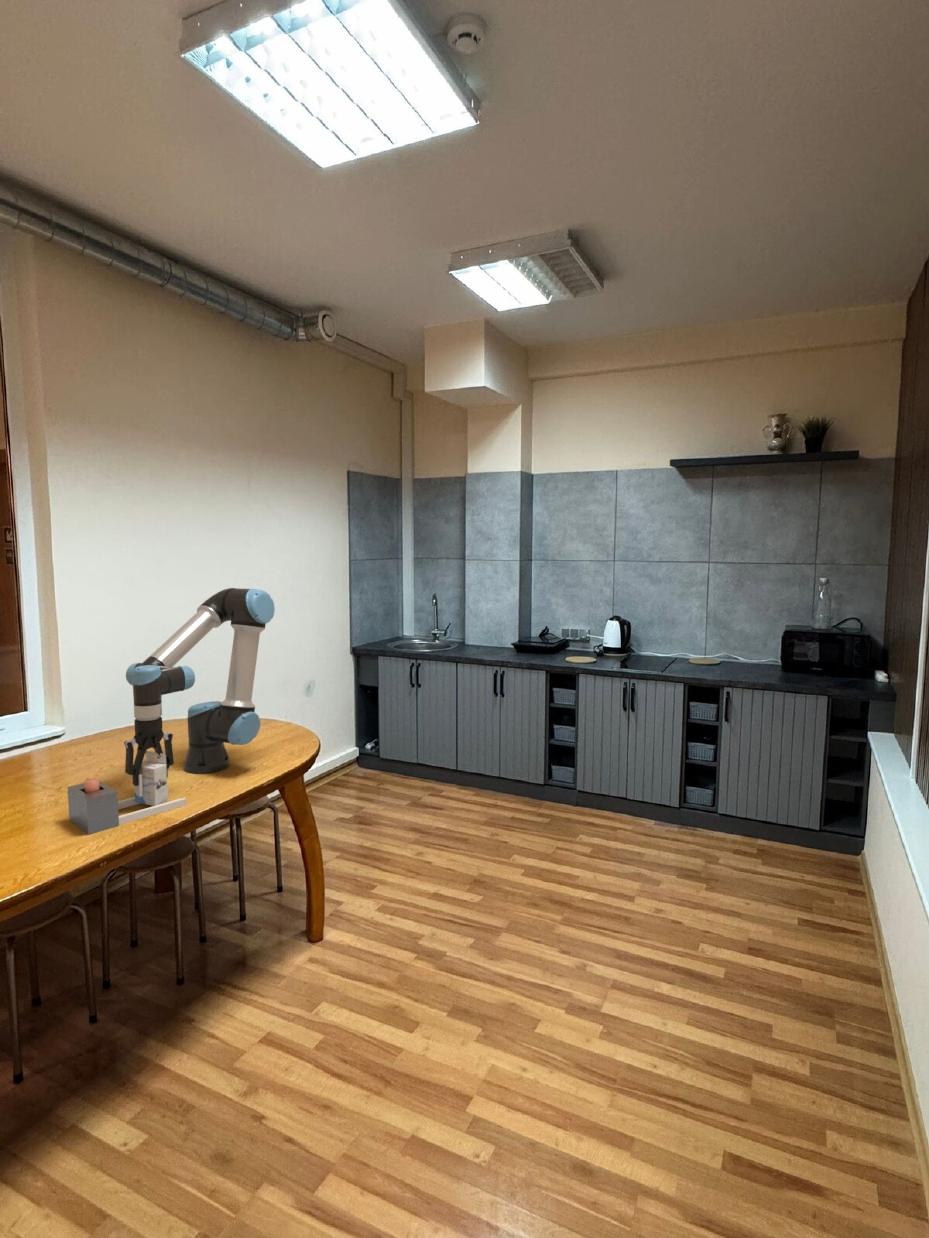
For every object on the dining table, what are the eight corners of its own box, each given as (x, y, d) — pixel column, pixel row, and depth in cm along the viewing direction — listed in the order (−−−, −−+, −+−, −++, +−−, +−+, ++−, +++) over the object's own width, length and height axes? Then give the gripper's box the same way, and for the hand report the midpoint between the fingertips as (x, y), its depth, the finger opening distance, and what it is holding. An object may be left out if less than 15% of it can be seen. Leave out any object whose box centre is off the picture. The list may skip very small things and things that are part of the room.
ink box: (133, 802, 201) (132, 754, 200) (147, 796, 206) (145, 750, 204) (155, 806, 198) (153, 758, 196) (168, 801, 202) (167, 753, 201)
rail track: (166, 794, 212) (166, 788, 212) (186, 804, 204) (186, 798, 203) (99, 812, 197) (99, 806, 197) (118, 825, 189) (117, 818, 188)
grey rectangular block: (99, 812, 197) (97, 779, 196) (118, 825, 188) (117, 791, 187) (69, 820, 191) (67, 786, 190) (88, 834, 182) (86, 799, 181)
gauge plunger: (96, 794, 191) (96, 777, 191) (102, 797, 189) (101, 780, 189) (83, 797, 189) (82, 780, 188) (88, 801, 186) (87, 783, 186)
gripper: (173, 709, 209) (175, 781, 211) (109, 721, 194) (112, 797, 197) (185, 713, 204) (187, 786, 206) (120, 725, 189) (123, 804, 192)
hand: (150, 792), depth 201 cm, fingers closed on ink box, 6 cm apart
